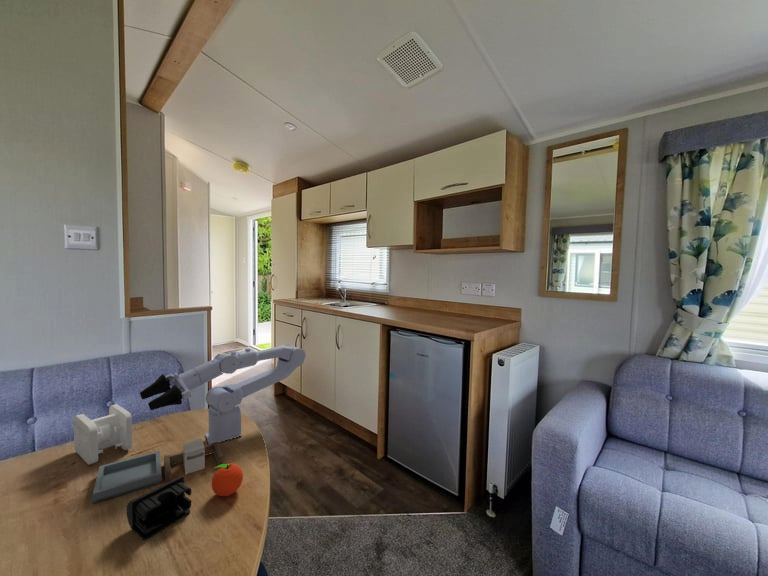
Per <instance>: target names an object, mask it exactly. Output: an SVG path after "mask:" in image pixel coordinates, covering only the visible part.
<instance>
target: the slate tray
mask: <svg viewBox="0 0 768 576" xmlns="http://www.w3.org/2000/svg"><path fill="white" fill-rule="evenodd" d="M161 459H162V458H161V450H156V451H152V452H148V453H145V454H142V455H141V454H140V455H137V456H134V457H129V458H126V459H122V460H118V461H115V462H111V463H106V464H103V465H99V467H98V471H97V475H96V478H95V479H96V480H95V483H94V488H93V492H92V505H95V504H98V503H100V502H104V501H107V500H110V499H113V498H116V497H121V496H123V495H126V494H130V493H133V492H137V491H139V490H142V489H147V488H149V487H151V486H155V485H158V484H162V463H161V462H162V461H161Z"/></svg>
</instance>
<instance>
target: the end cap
mask: <svg viewBox="0 0 768 576" xmlns="http://www.w3.org/2000/svg"><path fill="white" fill-rule="evenodd" d="M187 495H188V496H191V495H192V489H191V487H189V486H188V485H186V483H185V477H184V476H177V477H175V478H174V479H171V481H169V482H166V483H164V484H162V485H160V486H158V487H156V488H154V489H152V490H150V491H147V492H145V493H144V494H141V495H139V496H137V497H135V498H133V499H132V500H129V501H128V503H127V505H126V517H127V522H128V523H127V524H128V525H129V528H130V529H131V530H132V532H134V533H135V534H136V535H137V536H138V537H139V538H140V539H141V540H142V541H147V540H149V539H151V538H153V537H154V536H155V535H157V534H159V533H161V532H162V531H163V530H166V529H167V528H168V527H170V526H172V525H173V524H176V523H177V522H179V521H180V520H182V519H184V518H186V517H187V516H189V515H190V514H191V508H192V502H193V501H192V500H191V499H190V498H189V497H188V496H187Z"/></svg>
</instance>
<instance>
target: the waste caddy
mask: <svg viewBox="0 0 768 576" xmlns="http://www.w3.org/2000/svg"><path fill="white" fill-rule="evenodd" d="M182 445H183V446H182V448H183V449H182V451H183V461H184V462H183V468H184V474H185V475H188V474H191V473H195V472H198V471H201V470H204V469H205V467H206V466H205V465H206V459H205V458H206V457H205V456H206V455H205V447H204V445H205V444H204V442H203V438H202V437H201V438H197V439H193V440H188V441H186V442H183V444H182Z"/></svg>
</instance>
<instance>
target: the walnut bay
mask: <svg viewBox="0 0 768 576" xmlns="http://www.w3.org/2000/svg"><path fill="white" fill-rule="evenodd" d="M204 447H205V456H207V455H206V454H208V455H211V454H213V455H214V454H215V455H214V458H215V460H216V463H217V466H218V465H221V464H224V454H223V452H222V450H221V447H220V444H219V443H218V442H215V443H211V444H209V443H208V444H204ZM213 452H214V453H213ZM210 453H211V454H210ZM180 463H184V461H183V450H182V451H178V452H175V453H170V454H167V455H163V468H164V481H165V483H164V484H166V483H168V482H170V481H172V469H171V468H172V467H171V466H172V465H176V464H180Z"/></svg>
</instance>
